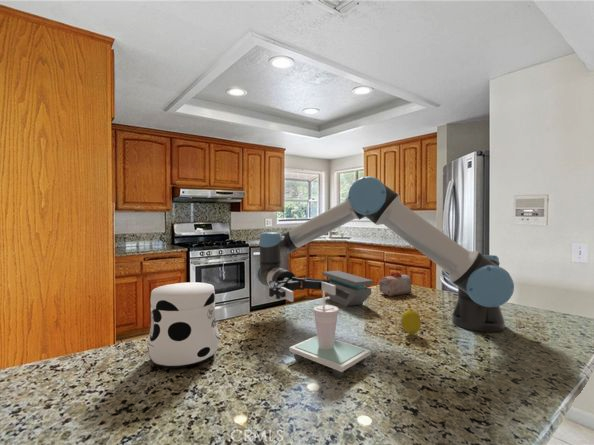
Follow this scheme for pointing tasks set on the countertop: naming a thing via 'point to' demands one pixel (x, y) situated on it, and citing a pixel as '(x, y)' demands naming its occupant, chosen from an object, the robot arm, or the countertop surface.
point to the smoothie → (325, 324)
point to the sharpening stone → (348, 288)
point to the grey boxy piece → (395, 284)
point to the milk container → (182, 324)
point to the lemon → (411, 321)
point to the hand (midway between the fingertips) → (314, 293)
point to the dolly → (331, 354)
